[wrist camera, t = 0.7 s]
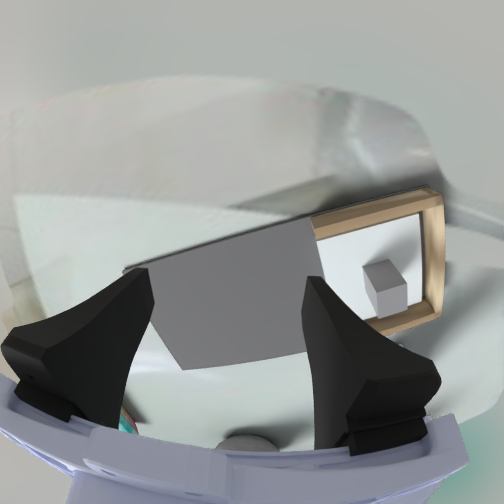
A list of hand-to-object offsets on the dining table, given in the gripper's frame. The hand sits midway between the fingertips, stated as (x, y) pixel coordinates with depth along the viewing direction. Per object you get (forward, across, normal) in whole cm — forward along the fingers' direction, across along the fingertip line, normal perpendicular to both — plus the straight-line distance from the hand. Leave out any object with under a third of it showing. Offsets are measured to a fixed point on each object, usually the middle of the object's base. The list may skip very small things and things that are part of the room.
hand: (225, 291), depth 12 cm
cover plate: (+10, -12, +4) cm, 16 cm away
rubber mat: (+10, -4, +8) cm, 14 cm away
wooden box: (+10, -12, +4) cm, 16 cm away
